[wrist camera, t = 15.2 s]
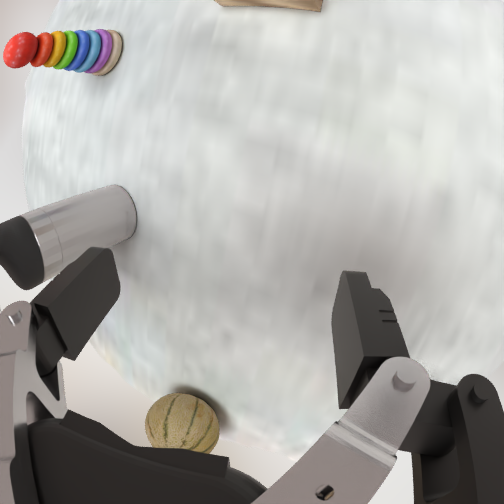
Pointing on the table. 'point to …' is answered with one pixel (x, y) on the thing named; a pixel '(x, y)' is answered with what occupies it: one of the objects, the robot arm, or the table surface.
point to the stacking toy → (66, 50)
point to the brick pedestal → (276, 3)
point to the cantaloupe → (182, 423)
